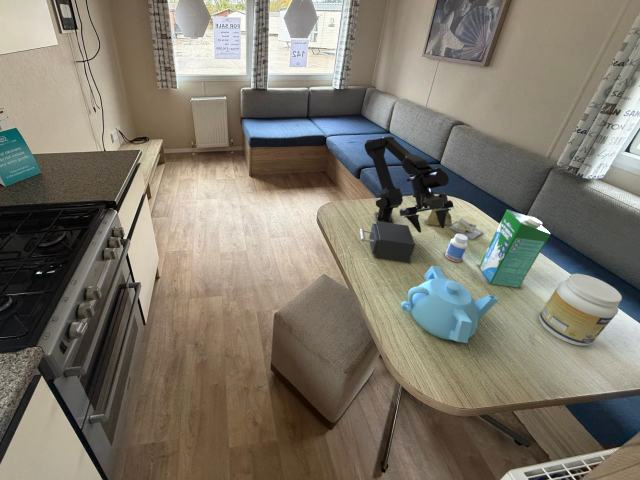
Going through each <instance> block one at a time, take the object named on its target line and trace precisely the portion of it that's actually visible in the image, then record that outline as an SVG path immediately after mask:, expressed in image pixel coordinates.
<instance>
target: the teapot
mask: <svg viewBox="0 0 640 480" xmlns="http://www.w3.org/2000/svg"><path fill="white" fill-rule="evenodd" d="M498 302H499V298H498V297H497V295H492V294H488V295H485V296H483V297H481V298H479V299H477V300H474V298H473V296H472V294H471V292H470V291H469V290H468V289H467V288H466V287H465V286H464V285H462V284H461V283H459V282H457V281H456V280H453V279H450V278H446V276H445V274H444V271H443V269H442V268H441V266H440V265H431V266H430V267H429V268H428V270H426V272H425V273H424V282H422V283H421V284H419V285H418V286H414V287H411V288H410V289H409V290H408V293H407V301H406V300H404V301H402V302H401V304H400V308H401V310H403V311H404V312H407V313H409V312H410V314H411V316H412V318H413V319H414V320H415V322H416V323H417V325H419V326H420V328H422V329H423V330H424V331H426V332H427V333H429V334H431V335H432V336H434V337H436V338H439V339H442V340H448V341H455V342H458V343H463V344H468V342H469V338H471V337H472V336H473V335H475V333H476V331H477V327H478V322H479V321H480V319H481V318H482V317H484V316H485V314H486V313H487V312H488V311H489V310H491V308H493V307H494V305H496V304H497V303H498Z"/></svg>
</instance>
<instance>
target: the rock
mask: <svg viewBox="0 0 640 480" xmlns="http://www.w3.org/2000/svg"><path fill="white" fill-rule="evenodd" d="M435 211H437V209H432V210H430V214H429V215H428V216H427V217H428V218H427V219H426V221H425V224H426V225H427V226H440V224H439V221H438V218H437V215H436V213H435ZM452 221H453V220H452V215H451V214H450V210H449V211H448V213H447V215H446V219H445V225H452ZM445 225H444V226H445Z"/></svg>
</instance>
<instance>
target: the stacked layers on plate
mask: <svg viewBox="0 0 640 480" xmlns="http://www.w3.org/2000/svg"><path fill="white" fill-rule="evenodd" d="M478 223H479V220H478V219H477V218H474V217H471V216H469V215H466V214H463V215H461V216H459V219H458V222H456V223H454V224H451V225H450V226H448V229H450V230H452V231H454V232H455V233H457V234H463V235H465V236H466V237H467V238H468V239H470V240H474V239H476V238H477V237H478V236H480V235H482V234H483V232H482V231H479V230H477V229H476V228H477V226H478Z"/></svg>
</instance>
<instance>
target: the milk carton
mask: <svg viewBox="0 0 640 480" xmlns="http://www.w3.org/2000/svg"><path fill="white" fill-rule="evenodd" d="M543 224H544V223H543V222H542V221H541V220H540V219H538V218H536V217H534V216H531V215H525V214H522V213H519V212H517V211H513V210H511V209H506V210H505V213H503V216H502V218H501V220H500V222H499V224H498V226H497V229H496V230H495V233H494V235H493V237H492V238H491V241H490V243H489V245H488V247H487V249H486V251H485V253H484V255H483V257H482V259H481V262H480V264H479V268H480V270H481V271H482V273H483V274H484V276H485V278H486V279H487V281H488V282H489V284H491V285H498V286H505V287H513V288H520V287H521V285H522V284H523V282H524V280H525V279H526V277H527V275H528V273H529V272H530V270H531V269H532V267H533V265H534V263H535V262H536V260H537V258H538V257H539V255H540V253H541V251H542V249H543V248H544V246H545V244H546V243H547V242H548V239H549V238H550V236H551V232H549V230H547V229H546V227H544V226H543Z"/></svg>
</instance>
